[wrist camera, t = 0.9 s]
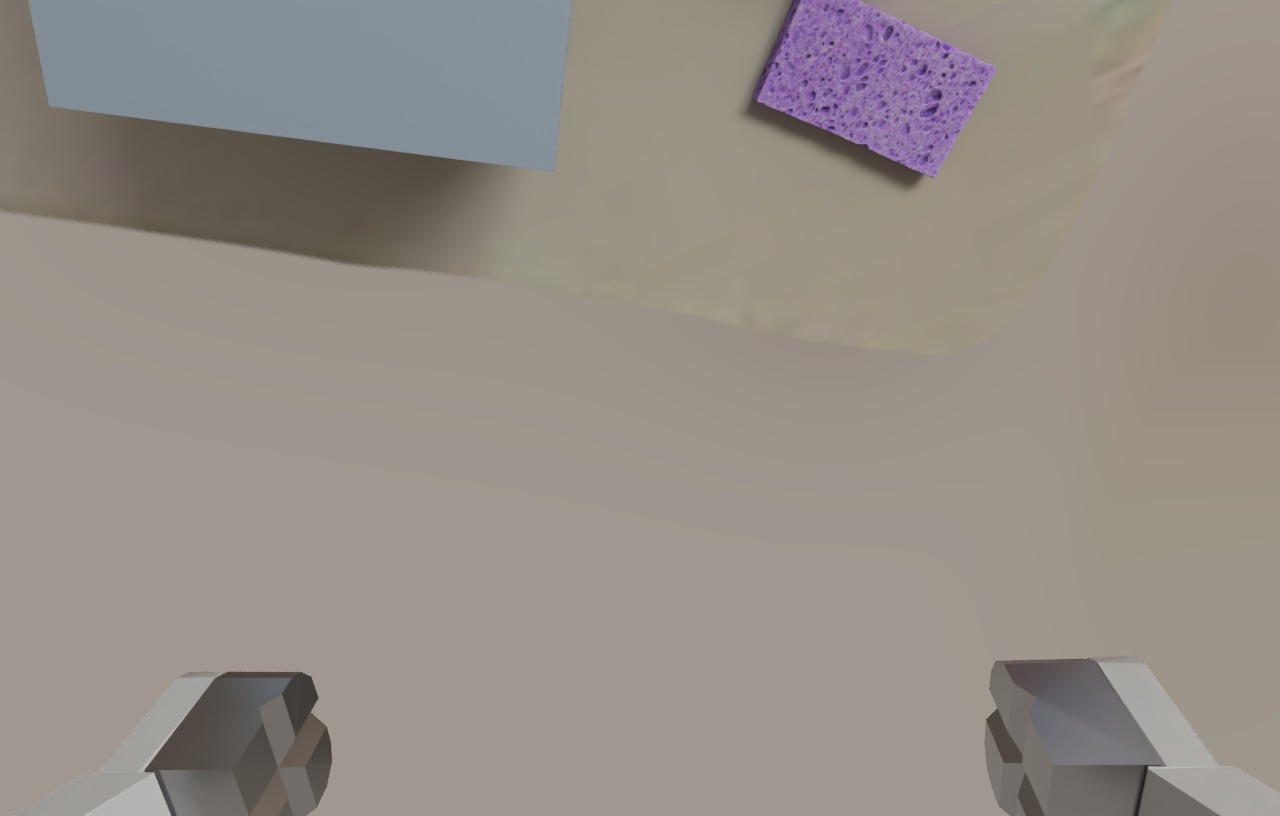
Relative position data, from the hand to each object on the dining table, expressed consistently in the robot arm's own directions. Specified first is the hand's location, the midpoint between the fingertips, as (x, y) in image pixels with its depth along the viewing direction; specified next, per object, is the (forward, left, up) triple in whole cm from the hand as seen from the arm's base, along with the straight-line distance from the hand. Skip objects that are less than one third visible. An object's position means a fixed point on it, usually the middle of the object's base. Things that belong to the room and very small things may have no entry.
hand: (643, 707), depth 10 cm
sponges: (+15, +9, -45) cm, 49 cm away
